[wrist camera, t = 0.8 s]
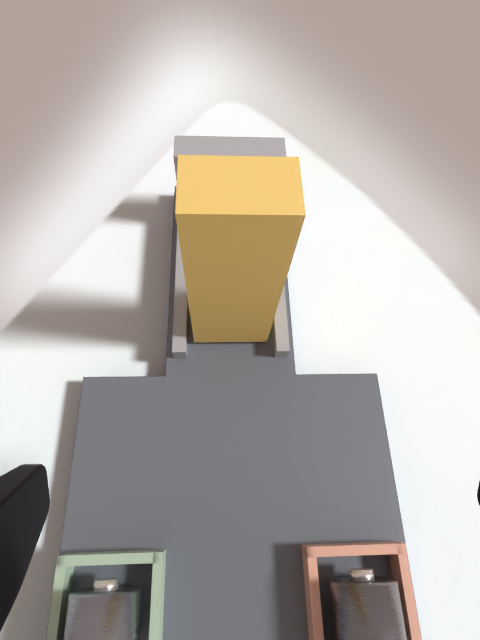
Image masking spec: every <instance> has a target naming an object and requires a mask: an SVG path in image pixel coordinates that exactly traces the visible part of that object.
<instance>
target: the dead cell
mask: <svg viewBox="0 0 480 640" xmlns="http://www.w3.org/2000/svg"><path fill="white" fill-rule="evenodd" d="M349 573H350V575H348V576H338V577H334V578H331V579H329V588H330V599H331V609H332V619H333V629H334V639H335V640H407V638H406V632H405V625H404V619H403V613H402V606H401V600H400V593H399V587H398V581H397V580H396V579H393V578H389V577H383V576H374V571H373V569H371V568H351V569H349Z"/></svg>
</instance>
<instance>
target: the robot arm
mask: <svg viewBox="0 0 480 640" xmlns="http://www.w3.org/2000/svg"><path fill="white" fill-rule="evenodd" d="M477 497H478V502H479V505H480V482H479V487H478V492H477ZM49 505H50V497H49V489H48V480H47V472H46V469H45V466H43V465H42V464H24V465H20V466H18V467H17V468H15V469H13V470H11V471H9V472H8V473H6V474H4V475H2V476H0V631H1V629H2V627H3V625H4V623H5V620H6V618H7V616H8V614H9V612H10V610H11V608H12V606H13V604H14V601H15V599H16V597H17V595H18V593H19V590H20V588H21V585H22V583H23V580H24V578H25V575H26V572H27V569H28V566H29V564H30V561H31V558H32V555H33V553H34V550H35V547H36V544H37V542H38V539H39V536H40V533H41V531H42V528H43V525H44V522H45V520H46V517H47V514H48V511H49Z"/></svg>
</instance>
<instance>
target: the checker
mask: <svg viewBox="0 0 480 640" xmlns="http://www.w3.org/2000/svg"><path fill="white" fill-rule="evenodd" d="M178 155H215V156H271V157H286V149H285V139H284V138H263V137H215V136H175V139H174V164H175V172H176V180H177V165H178ZM175 207H176V186H175V194H174V215H173V235H172V256H171V276H170V297H169V317H168V338H167V358H166V376H142V377H83V384H82V392H81V399H80V407H79V414H78V422H77V429H76V437H75V444H74V452H73V459H72V467H71V474H70V482H69V489H68V497H67V504H66V512H65V519H64V527H63V535H62V542H61V550H60V555H58V556H57V562H56V569H55V577H54V584H53V591H52V599H51V606H50V614H49V621H48V628H47V636H46V640H63V638H64V630H65V622H66V613H67V605H68V597H69V593H70V592H72V591H75V590H78V589H83V588H88V587H93V585H94V580H95V579H100V578H109V577H116V578H119V585H135V586H139V587H140V588H141V597H140V614H139V630H138V640H335V639H334V629H333V619H332V609H331V599H330V588H329V579H331V578H334V577H338V576H348V575H350V573H349V569H351V568H371V569H373V571H374V576H383V577H389V578H393V579H396V580H397V581H398V587H399V593H400V600H401V606H402V613H403V619H404V625H405V632H406V638H407V640H422V638H421V632H420V627H419V621H418V615H417V609H416V603H415V597H414V591H413V585H412V579H411V573H410V567H409V561H408V555H407V550H406V544H405V538H404V532H403V526H402V520H401V514H400V508H399V502H398V496H397V490H396V484H395V479H394V473H393V467H392V461H391V455H390V449H389V443H388V437H387V431H386V425H385V419H384V413H383V407H382V402H381V396H380V390H379V384H378V378H377V374H307V375H296V373H295V362H294V350H293V338H292V326H291V315H290V303H289V291H288V279H287V277H286V281H285V284H284V287H283V291H282V294H281V297H280V301H279V304H278V307H277V310H276V314H275V317H274V320H273V324H272V327H271V330H270V334H269V337H268V340H267V342H194V338H193V331H192V324H191V317H190V311H189V304H188V297H187V290H186V284H185V277H184V270H183V263H182V257H181V250H180V243H179V236H178V229H177V223H176V216H175Z"/></svg>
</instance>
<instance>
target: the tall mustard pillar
mask: <svg viewBox="0 0 480 640" xmlns="http://www.w3.org/2000/svg"><path fill="white" fill-rule="evenodd" d="M175 216H176V223H177V229H178V236H179V243H180V250H181V257H182V263H183V270H184V277H185V284H186V290H187V297H188V304H189V311H190V317H191V324H192V331H193V338H194V342H267V340H268V337H269V334H270V330H271V327H272V324H273V320H274V317H275V314H276V310H277V307H278V304H279V301H280V297H281V294H282V291H283V287H284V284H285V281H286V277H287V274H288V271H289V268H290V264H291V261H292V258H293V254H294V251H295V248H296V244H297V241H298V238H299V235H300V231H301V228H302V225H303V221H304V218H305V207H304V199H303V190H302V181H301V172H300V164H299V157H271V156H215V155H178V165H177V186H176V207H175Z"/></svg>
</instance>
